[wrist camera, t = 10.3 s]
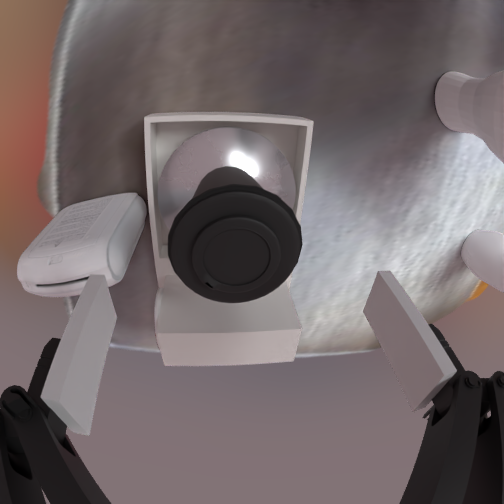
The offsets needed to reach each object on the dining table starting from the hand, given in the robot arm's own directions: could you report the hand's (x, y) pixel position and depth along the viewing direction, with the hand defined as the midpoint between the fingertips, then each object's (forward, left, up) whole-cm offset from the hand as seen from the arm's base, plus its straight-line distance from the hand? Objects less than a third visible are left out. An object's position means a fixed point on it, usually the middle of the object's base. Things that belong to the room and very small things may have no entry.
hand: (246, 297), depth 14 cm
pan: (0, 0, -17) cm, 17 cm away
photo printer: (+3, -13, -18) cm, 22 cm away
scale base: (+3, 0, -17) cm, 18 cm away
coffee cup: (0, 0, -14) cm, 14 cm away
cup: (-13, +26, -18) cm, 34 cm away
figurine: (+7, +39, -18) cm, 44 cm away
